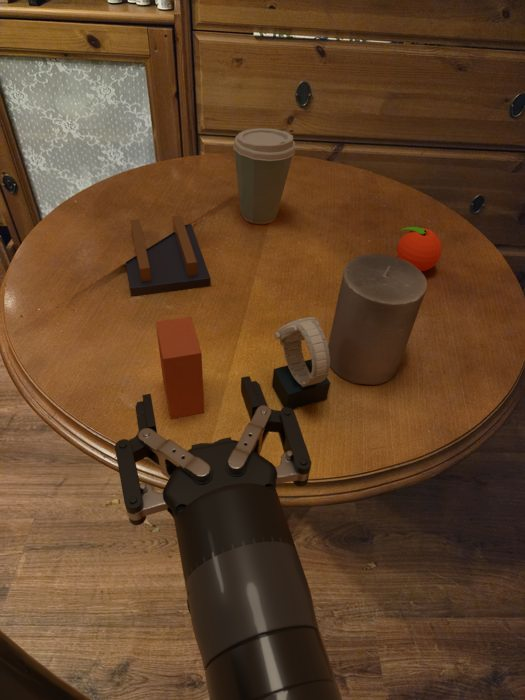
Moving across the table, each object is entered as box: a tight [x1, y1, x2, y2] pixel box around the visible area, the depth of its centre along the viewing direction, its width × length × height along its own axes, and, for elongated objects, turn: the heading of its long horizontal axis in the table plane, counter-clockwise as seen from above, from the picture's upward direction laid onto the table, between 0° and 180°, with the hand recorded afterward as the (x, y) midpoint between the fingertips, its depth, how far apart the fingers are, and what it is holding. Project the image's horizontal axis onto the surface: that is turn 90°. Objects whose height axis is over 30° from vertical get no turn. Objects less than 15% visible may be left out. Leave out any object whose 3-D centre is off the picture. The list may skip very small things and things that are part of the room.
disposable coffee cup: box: [232, 127, 296, 225], centre depth 87 cm, size 11×11×15 cm
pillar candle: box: [328, 253, 428, 386], centre depth 61 cm, size 10×10×15 cm
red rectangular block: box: [155, 316, 205, 420], centre depth 57 cm, size 6×4×10 cm, turn 16°
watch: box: [271, 316, 331, 410], centre depth 58 cm, size 6×8×11 cm
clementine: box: [396, 226, 443, 272], centre depth 80 cm, size 8×7×7 cm
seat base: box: [125, 214, 212, 297], centre depth 79 cm, size 16×12×4 cm
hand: (196, 391), depth 43 cm, fingers open, 8 cm apart
